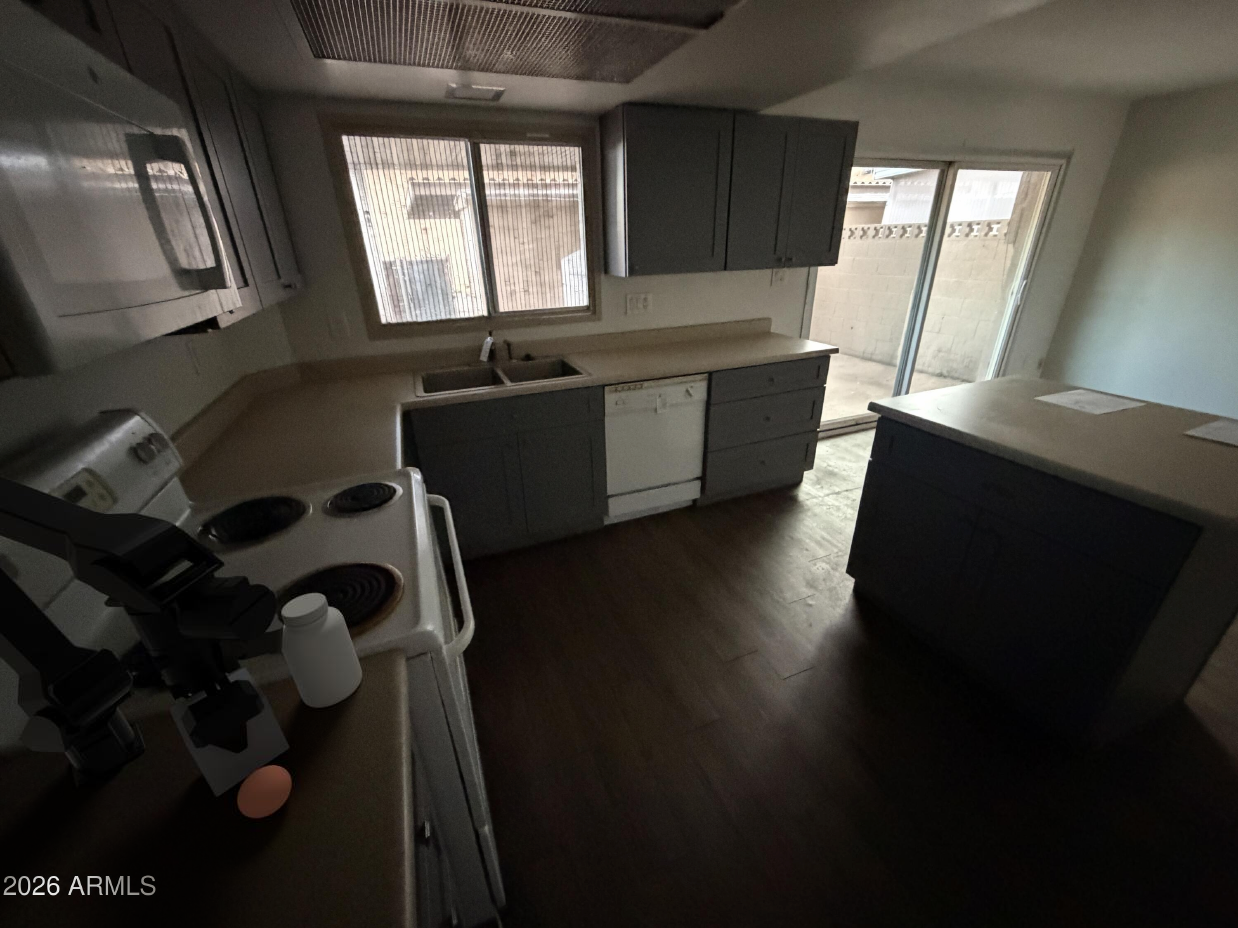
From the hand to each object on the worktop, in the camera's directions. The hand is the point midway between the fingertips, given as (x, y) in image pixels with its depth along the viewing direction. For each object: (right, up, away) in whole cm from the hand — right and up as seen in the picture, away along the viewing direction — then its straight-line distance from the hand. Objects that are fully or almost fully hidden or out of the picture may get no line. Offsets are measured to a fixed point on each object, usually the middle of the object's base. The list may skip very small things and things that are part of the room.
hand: (231, 731), depth 60 cm
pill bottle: (+5, 0, +13) cm, 14 cm away
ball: (+7, -5, -4) cm, 9 cm away
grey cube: (0, -4, +2) cm, 4 cm away
